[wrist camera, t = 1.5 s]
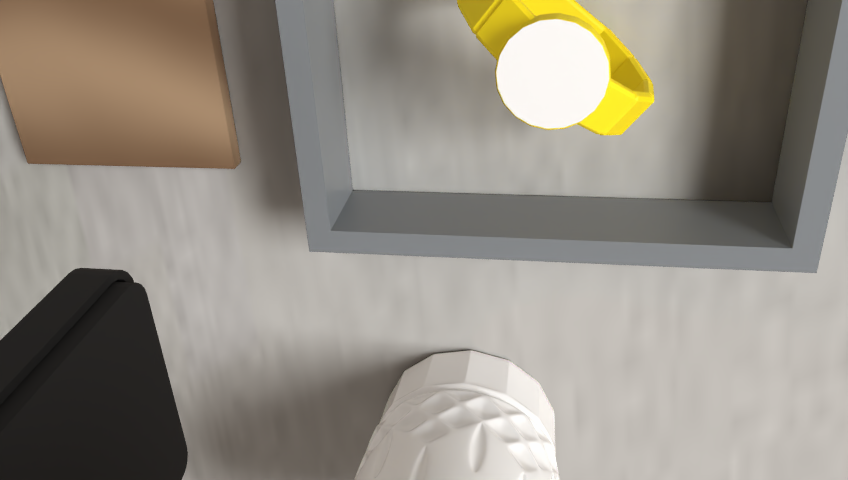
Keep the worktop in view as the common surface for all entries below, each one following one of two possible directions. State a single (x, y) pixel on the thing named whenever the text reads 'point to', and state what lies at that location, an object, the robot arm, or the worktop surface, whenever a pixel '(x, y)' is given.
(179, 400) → the worktop surface
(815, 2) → the bin
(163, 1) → the board
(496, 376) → the white cup
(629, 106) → the watch
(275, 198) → the worktop surface
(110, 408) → the robot arm
